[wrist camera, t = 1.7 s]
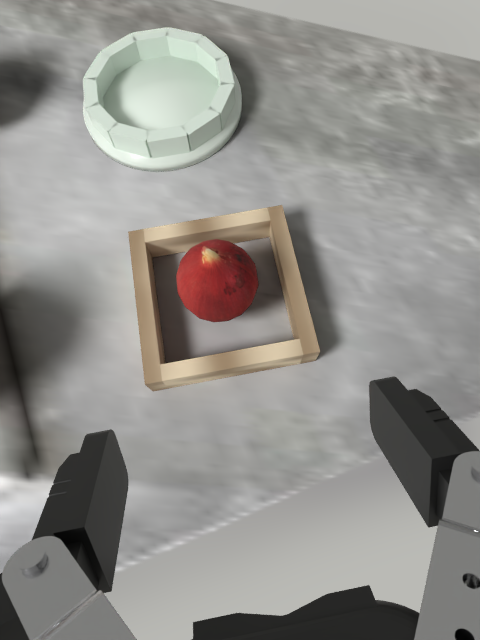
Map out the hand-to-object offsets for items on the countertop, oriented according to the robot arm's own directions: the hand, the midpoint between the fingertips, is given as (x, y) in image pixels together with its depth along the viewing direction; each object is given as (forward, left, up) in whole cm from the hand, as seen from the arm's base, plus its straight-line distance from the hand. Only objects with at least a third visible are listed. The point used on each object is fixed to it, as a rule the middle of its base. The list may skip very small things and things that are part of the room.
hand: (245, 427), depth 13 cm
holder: (0, -12, -18) cm, 22 cm away
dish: (+2, -33, -18) cm, 38 cm away
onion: (0, -12, -18) cm, 22 cm away
